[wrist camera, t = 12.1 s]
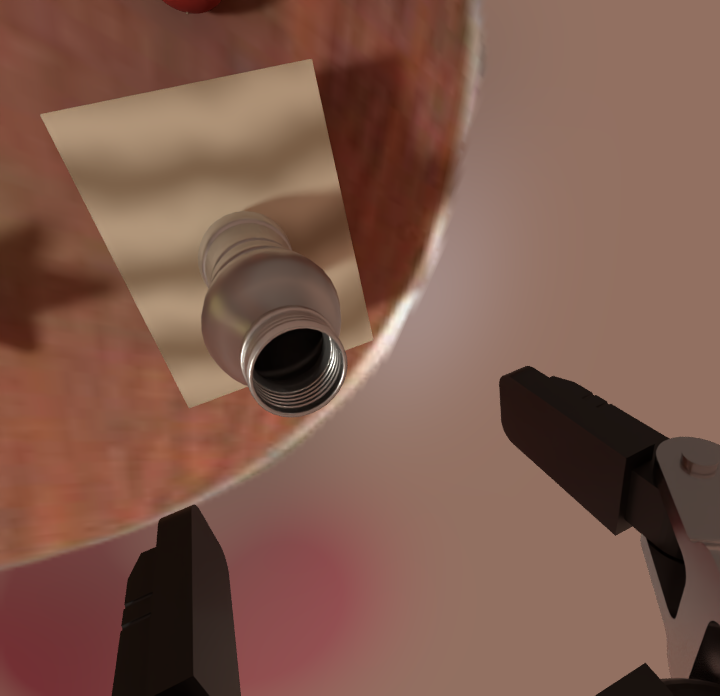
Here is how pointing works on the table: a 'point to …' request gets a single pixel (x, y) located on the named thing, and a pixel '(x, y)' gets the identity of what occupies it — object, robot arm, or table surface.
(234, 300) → the plastic bottle
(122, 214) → the footstool
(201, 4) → the kendama
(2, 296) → the table surface
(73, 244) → the table surface
